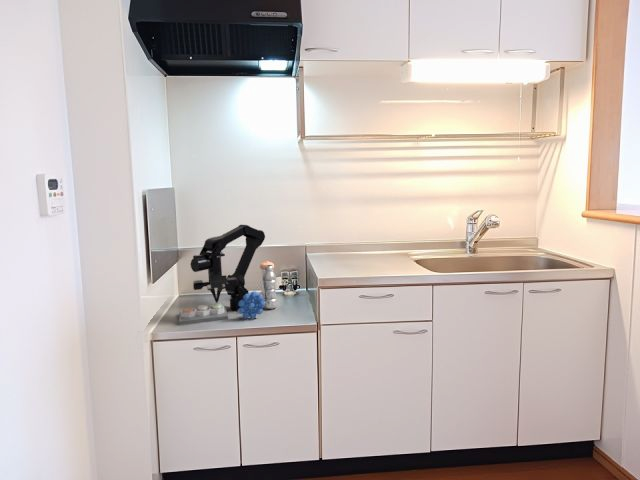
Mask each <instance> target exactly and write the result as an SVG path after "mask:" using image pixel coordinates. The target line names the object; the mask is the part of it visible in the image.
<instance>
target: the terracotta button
mask: <svg viewBox="0 0 640 480" xmlns="http://www.w3.org/2000/svg"><path fill="white" fill-rule="evenodd" d="M193 309H194V308H190V307H189V308H184V309H183V310H184V312H185V313H189V312H193Z"/></svg>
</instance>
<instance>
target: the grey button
mask: <svg viewBox="0 0 640 480" xmlns="http://www.w3.org/2000/svg"><path fill="white" fill-rule="evenodd" d="M208 307H209V306H208V305H207V304H200V305H198V306H197V308H198V311H205V310H208Z"/></svg>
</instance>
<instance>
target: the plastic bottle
mask: <svg viewBox="0 0 640 480" xmlns="http://www.w3.org/2000/svg"><path fill="white" fill-rule="evenodd" d="M276 275H277V274H276V273H275V272H274V268H273V265H265V272H264V274H263V276H262V275H261V280H262V279H263V285H264V301H265V306H264V307H263V308H264V309H266V310H267V309H269V310H271V309H272V310H273V309H275V308H277V305H278V299H277V293H276V285H277V276H276Z"/></svg>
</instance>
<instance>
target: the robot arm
mask: <svg viewBox="0 0 640 480" xmlns="http://www.w3.org/2000/svg"><path fill="white" fill-rule="evenodd" d="M242 236H243V237H245V248H244V250H243V252H242V254H241V256H240V259H239V261H238V262H237V263H238V264H237V266H236V268H235V270H234V273H232V274H228V275H225V274H224V275H223V274H222V273H223V270H222V257H225V253H223V252H222V251H223V250H224V249H226V247H227V245H229V244H230V243H232V242H233V241H235V240H237V239H239V238H241V237H242ZM265 238H266V235H265V232H264V231H263V230H261V229H257V228H253V227H251V226H250V225H248V224H239V225H238V226H236V227H235V228H233V229H230V230H229V231H227V232H224V233H223V234H222V235H219V236H212V237H209V238H207V239H206V240H204V244H203V246H202V248H201V250H200V252H199V254H198V255H197V254H196V255H193V256H192V259H191V261H190V268H191V270H192V271H193V272H194V273H198V272H202V271H207V274H208V281H203V280H202V279H198V280H194V281H193V282H192V283H193V285H192V287H193V290H194V291H197V290H202V289H203V288H204V287H206V290H207V291H210V293H211V294H212V297H213V300H214V301H215V304H216V303H219V299H220V296H221V293H222V291H223V290H224V291H226V293H227V296H230V298H229V309H231V311H232V312H233V311H238V309H239V308H240V306H239V305H238V303H239V301H240V300H244V299H243V296H244V295H245V294H249V290H248V289H247V288H246V287H245V286H246V282H245V281H246V280H245V276H246V274H247V271H248V269H249V267H250V264H251V262H252V260H253V258H254V255H255V253H256V250H257V249H258V248H259V247H261V246H262V244H263V243H264V241H265Z"/></svg>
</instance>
